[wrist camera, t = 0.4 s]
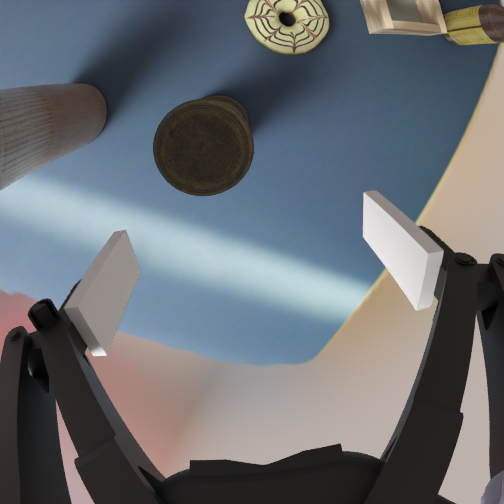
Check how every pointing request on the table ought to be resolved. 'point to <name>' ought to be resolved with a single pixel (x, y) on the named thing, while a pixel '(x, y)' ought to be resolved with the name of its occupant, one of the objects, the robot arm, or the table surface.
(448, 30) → the sauce bottle
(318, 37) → the decorated donut
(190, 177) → the container
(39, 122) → the vase
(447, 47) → the table surface
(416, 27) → the caddy
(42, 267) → the table surface
